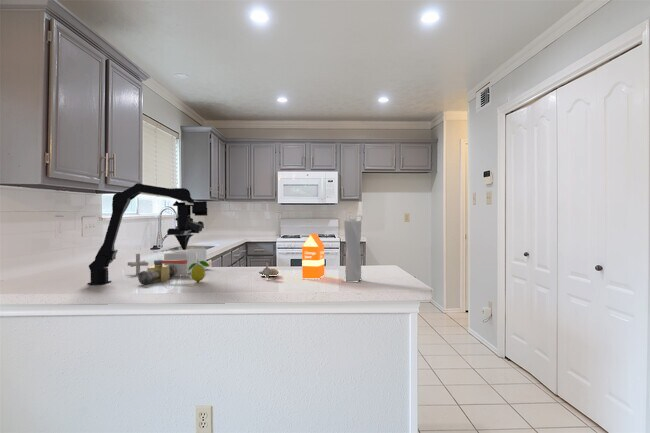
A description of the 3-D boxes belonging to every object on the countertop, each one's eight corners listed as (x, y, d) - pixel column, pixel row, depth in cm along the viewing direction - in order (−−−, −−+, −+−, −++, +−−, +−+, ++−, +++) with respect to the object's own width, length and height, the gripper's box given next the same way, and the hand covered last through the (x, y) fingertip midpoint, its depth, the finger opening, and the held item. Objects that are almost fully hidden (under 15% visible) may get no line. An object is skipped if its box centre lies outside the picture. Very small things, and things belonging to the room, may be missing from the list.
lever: (152, 264, 156) (152, 260, 156) (157, 263, 159) (157, 259, 159) (183, 264, 154) (183, 260, 154) (188, 263, 158) (187, 259, 158)
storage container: (186, 269, 195) (186, 249, 195) (206, 268, 194) (206, 248, 194) (164, 276, 170) (164, 253, 170) (186, 276, 169) (186, 253, 169)
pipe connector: (153, 272, 182) (153, 252, 182) (141, 275, 172) (141, 254, 172) (135, 272, 183) (134, 252, 183) (122, 275, 173) (121, 254, 173)
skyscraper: (364, 279, 154) (364, 215, 154) (361, 282, 146) (360, 215, 147) (345, 278, 157) (345, 215, 157) (341, 282, 149) (341, 215, 149)
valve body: (152, 284, 147) (151, 267, 147) (137, 284, 148) (137, 267, 148) (177, 276, 167) (177, 261, 167) (164, 276, 167) (164, 261, 167)
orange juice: (302, 279, 156) (301, 234, 156) (308, 276, 165) (308, 233, 165) (318, 280, 154) (318, 234, 154) (324, 276, 163) (324, 233, 163)
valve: (274, 279, 154) (253, 281, 156) (284, 281, 165) (263, 282, 167) (274, 262, 155) (253, 264, 157) (283, 264, 167) (263, 266, 169)
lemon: (209, 281, 153) (209, 258, 153) (198, 284, 148) (198, 260, 148) (198, 280, 156) (198, 257, 156) (187, 282, 151) (187, 259, 151)
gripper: (190, 215, 153) (191, 251, 153) (209, 215, 171) (209, 248, 171) (166, 215, 154) (166, 251, 154) (187, 216, 172) (188, 248, 172)
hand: (184, 249), depth 163 cm, fingers closed
